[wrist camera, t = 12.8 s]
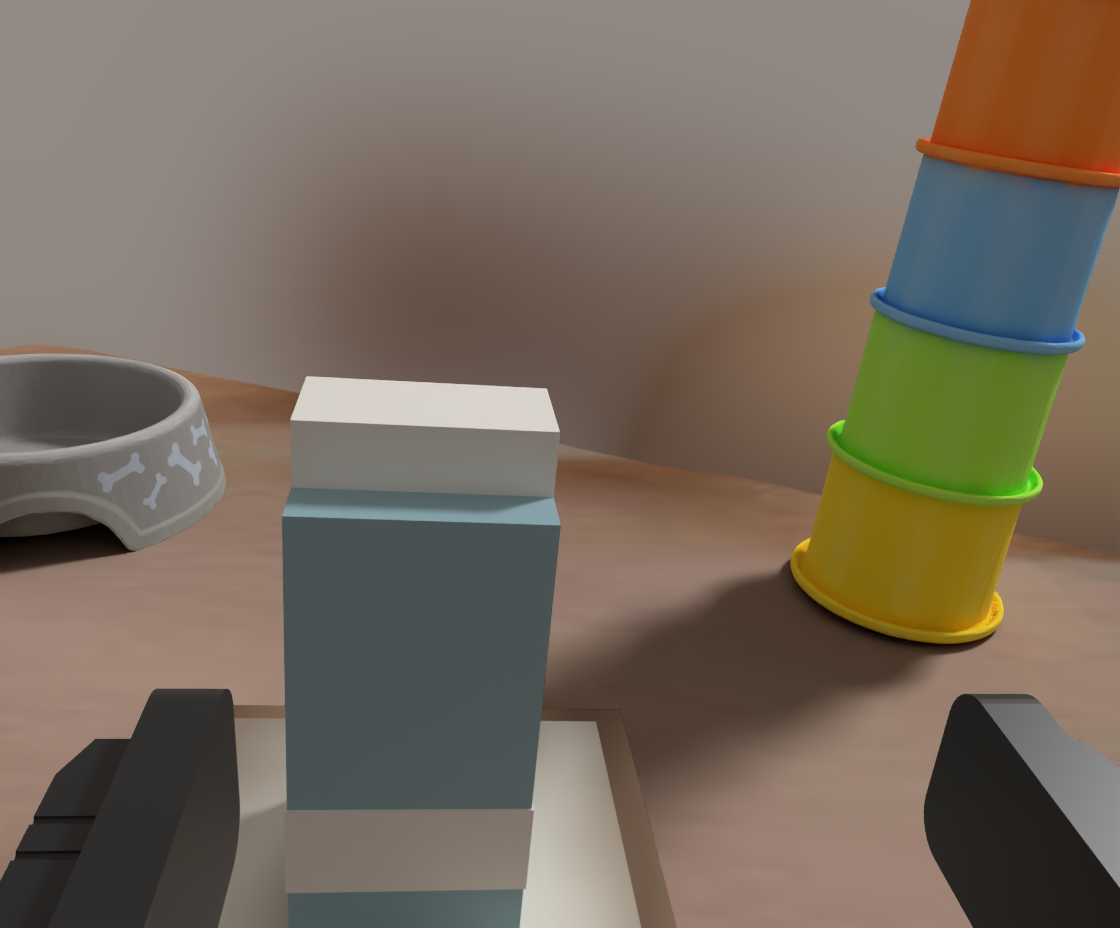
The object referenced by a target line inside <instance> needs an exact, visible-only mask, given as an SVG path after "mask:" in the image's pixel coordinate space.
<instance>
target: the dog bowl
mask: <svg viewBox="0 0 1120 928" xmlns="http://www.w3.org/2000/svg"><path fill="white" fill-rule="evenodd" d="M225 487H226V476H225V472H224V469H223V466H222V463H221V461H220V459H219V457H218V454H217V450H216V447H215V444H214V441H213V437H212V434H211V431H210V427H209V424H208V421H207V417H206V414H205V411H204V408H203V404H202V401H201V398H200V395H199V392H198V391H197V389H196V388H195V386H194V385H193V384H192V383H191V382H190V381H188V380H187V379H186V378H184V377H183V376H181V375H179V374H177V373H175V372H173V371H171V370H168V369H165V368H162V367H159V366H156V365H152V364H148V363H144V362H140V361H135V360H129V359H122V358H115V357H107V356H96V355H79V354H25V355H9V356H0V537H21V536H34V535H44V534H51V533H57V532H64V531H70V530H74V529H79V528H84V527H88V526H92V525H95V524H99V523H102V524H104V525H106V526H107V527H109V528H110V529H111V530H112V531H113V532H114V533H115V534H116V536H117V537H118V538H119V539H120V540H121V542H122V543H123V544H124V545H125V547H126V548H127V549H129V550H133V551H139V550H141V549H144V548H147V547H149V546H152V545H155V544H157V543H159V542H161V541H164V540H166V539H168V538H170V537H172V536H174V535H176V534H178V533H180V532H181V531H183V530H185V529H186V528H188V527H190V526H191V525H193V524H194V523H196V522H197V521H198V520H200V519H201V518H203V517H204V516H205V515H206V514H207V513H208V512H210V511H211V510H212V509H213V508H214V506H215V505H216V504H217V503H218V502H219V500H220V499H221V497H222V495H223V493H224V491H225Z"/></svg>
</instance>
